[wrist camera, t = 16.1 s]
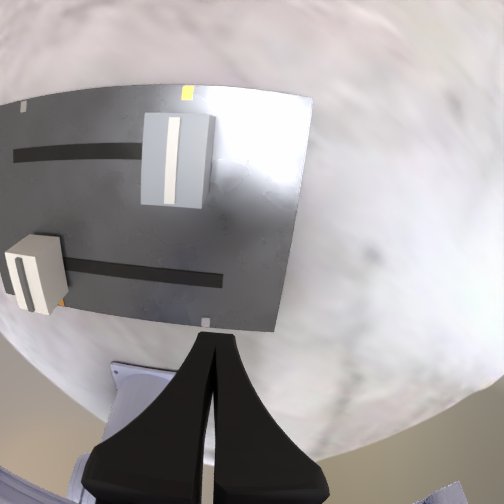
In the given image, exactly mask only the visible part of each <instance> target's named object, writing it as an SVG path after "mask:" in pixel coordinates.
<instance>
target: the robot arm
mask: <svg viewBox="0 0 504 504" xmlns="http://www.w3.org/2000/svg"><path fill="white" fill-rule="evenodd" d="M110 368H111V372H112V375H113V378H114V382H115V385H116V388H117V391H118V392H117V395H116V398H115V400H114V403H113V406H112V409H111V412H110V415H109V418H108V421H107V424H106V428H105V430H104V434H103V437H102V440H101V443H100V444H98V445H97V446H95V447H94V449H93V450H92V452H91V453H88V452H87V453H85V454H83V455H80V456H79V457H78V459H77V461H76V464H75V466H74V469H73V472H72V475H71V479H70V482H69V487H68V491H67V496H66V498H64V497H61V496H59V495H56V494H54V493H52V492H49V491H47V490H45V489H43V488H40V487H38V486H36V485H34V484H32V483H30V482H28V481H26V480H25V479H23V478H21V477H19V476H17V475H15V474H13V473H12V472H10V471H8V470H6V469H5V468H3V467H1V466H0V504H201V496H202V474H203V455H204V442H205V434H206V428H207V423H208V417H209V411H210V406H211V400H212V394H213V398H214V421H215V466H214V493H213V495H214V496H213V504H322V503H323V502H324V501H325V500H326V499H327V498H328V497H329V495H330V493H329V487H328V484H327V481H326V478H325V476H324V474H323V472H322V469H321V467H320V466H319V465H317V464H316V463H315V462H314V461H313V460H311V459H310V458H309V457H308V456H307V455H306V454H305V453H304V452H303V451H301V450H300V449H299V448H298V447H297V446H296V445H295V444H294V442H293V441H292V440H291V439H290V438H289V437H288V436H287V435H286V434H285V432H284V431H283V430H282V429H281V428H280V427H279V425H278V424H277V423H276V422H275V420H274V419H273V418H272V416H271V415H270V414H269V412H268V411H267V409H266V408H265V406H264V405H263V403H262V402H261V400H260V398H259V397H258V395H257V393H256V391H255V389H254V387H253V386H252V384H251V382H250V380H249V378H248V375H247V373H246V371H245V368H244V366H243V364H242V361H241V358H240V355H239V352H238V349H237V345H236V340H235V336H234V335H233V334H224V333H212V332H202V331H201V332H200V333H198V336H197V338H196V341H195V343H194V345H193V347H192V349H191V350H190V352H189V354H188V356H187V357H186V359H185V361H184V362H183V364H182V365H181V367H180V368H179V370H178V371H177V372H170V371H162V370H155V369H149V368H143V367H137V366H131V365H125V364H120V363H114V362H113V363H111V366H110ZM412 504H468V502H467V499H466V496H465V494H464V491H463V489H462V486H461V484H460V482H459V481H456V482H454V483H452V484H450V485H448V486H446V487H443V488H441V489H439V490H437V491H435V492H433V493H432V494H430V495H428V496H427V497H426V498H425V499H423V500H420V501H418V502H415V503H412Z"/></svg>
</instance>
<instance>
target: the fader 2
mask: <svg viewBox="0 0 504 504" xmlns="http://www.w3.org/2000/svg"><path fill="white" fill-rule="evenodd" d="M215 118H216V117H215V116H212V115H208V114H189V113H145V117H144V130H143V146H142V167H141V204H144V205H159V206H173V207H186V208H198V209H202V206H203V204H204V202H205V200H206V198H207V195H208V193H209V180H210V169H211V158H212V147H213V137H214V127H215Z"/></svg>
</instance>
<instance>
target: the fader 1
mask: <svg viewBox="0 0 504 504" xmlns="http://www.w3.org/2000/svg"><path fill="white" fill-rule="evenodd" d="M5 257H6V261H7V265H8V269H9V273H10V277H11V281H12V285H13V288H14V292H15V295H16V298H17V302H18V305H19V308H21V309H25V310H28V311H30V312H37V313H41V314H45V315H50V314H51V313H52V311H53V310H54V309H55V307H56V306H57V305H58V304H59V303H60V301H61V300H62V299H63V298H64V296H65V295H66V294H67V293H68V292H69V290H68V285H67V280H66V275H65V270H64V264H63V258H62V252H61V245H60V238H59V237H53V236H43V235H33V234H29V235H28V236H26V237H25V238H24V239H22V240H21V241H19V242H18V243H17V244H15V245H14V246H12V247H11V248H10V249H8V250H7V251H6V252H5Z"/></svg>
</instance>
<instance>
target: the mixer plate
mask: <svg viewBox="0 0 504 504" xmlns="http://www.w3.org/2000/svg"><path fill="white" fill-rule="evenodd" d="M312 107H313V98H308V97H303V96H297V95H291V94H285V93H278V92H271V91H263V90H255V89H246V88H235V87H223V86H207V85H131V86H115V87H103V88H93V89H85V90H77V91H70V92H63V93H57V94H51V95H46V96H40V97H35V98H31V99H26V100H22V101H17V102H13V103H9V104H5V105H2V106H0V273H1V277H2V281H3V284H4V288H5V291H6V293H8V294H12V295H15V292H14V288H13V285H12V281H11V277H10V273H9V269H8V265H7V261H6V257H5V252H6V251H7V250H8V249H10V248H11V247H12V246H14V245H15V244H17V243H18V242H19V241H21V240H22V239H24V238H25V237H26V236H28V235H29V234H33V235H43V236H53V237H59V238H60V245H61V252H62V258H63V264H64V270H65V275H66V280H67V285H68V290H69V292H68V293H67V294H66V295H65V296H64V298H63V299H62V300H61V301H60V303H59V304H58V305H60V306H65V307H70V308H75V309H80V310H86V311H91V312H97V313H103V314H109V315H115V316H121V317H128V318H134V319H141V320H149V321H156V322H164V323H172V324H181V325H190V326H200V327H210V328H221V329H234V330H247V331H263V332H274V329H275V324H276V319H277V314H278V309H279V304H280V299H281V294H282V289H283V284H284V279H285V274H286V268H287V263H288V257H289V252H290V247H291V241H292V235H293V230H294V224H295V218H296V212H297V206H298V200H299V194H300V188H301V182H302V176H303V169H304V163H305V156H306V149H307V143H308V136H309V129H310V121H311V114H312ZM145 113H189V114H208V115H212V116H215V117H216V118H215V127H214V137H213V147H212V158H211V169H210V180H209V193H208V195H207V198H206V200H205V202H204V204H203V206H202V209H198V208H186V207H173V206H159V205H144V204H141V167H142V146H143V130H144V117H145Z"/></svg>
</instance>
